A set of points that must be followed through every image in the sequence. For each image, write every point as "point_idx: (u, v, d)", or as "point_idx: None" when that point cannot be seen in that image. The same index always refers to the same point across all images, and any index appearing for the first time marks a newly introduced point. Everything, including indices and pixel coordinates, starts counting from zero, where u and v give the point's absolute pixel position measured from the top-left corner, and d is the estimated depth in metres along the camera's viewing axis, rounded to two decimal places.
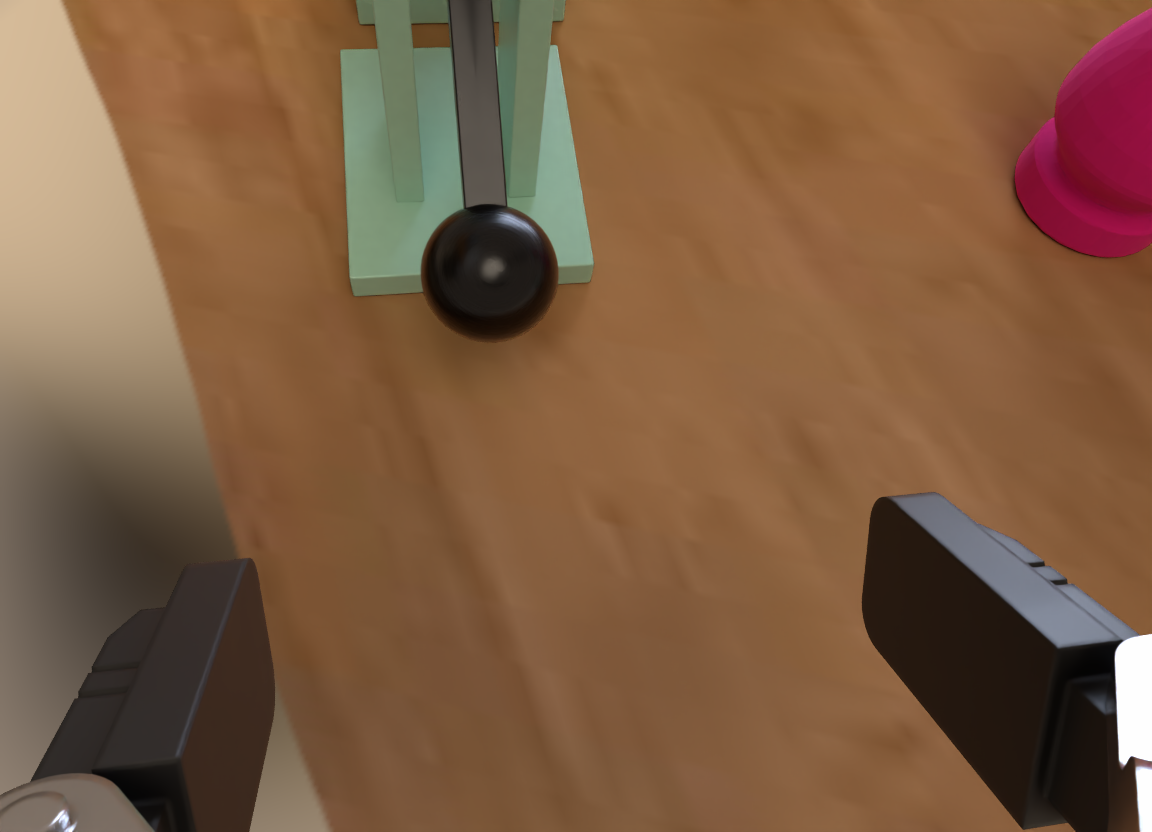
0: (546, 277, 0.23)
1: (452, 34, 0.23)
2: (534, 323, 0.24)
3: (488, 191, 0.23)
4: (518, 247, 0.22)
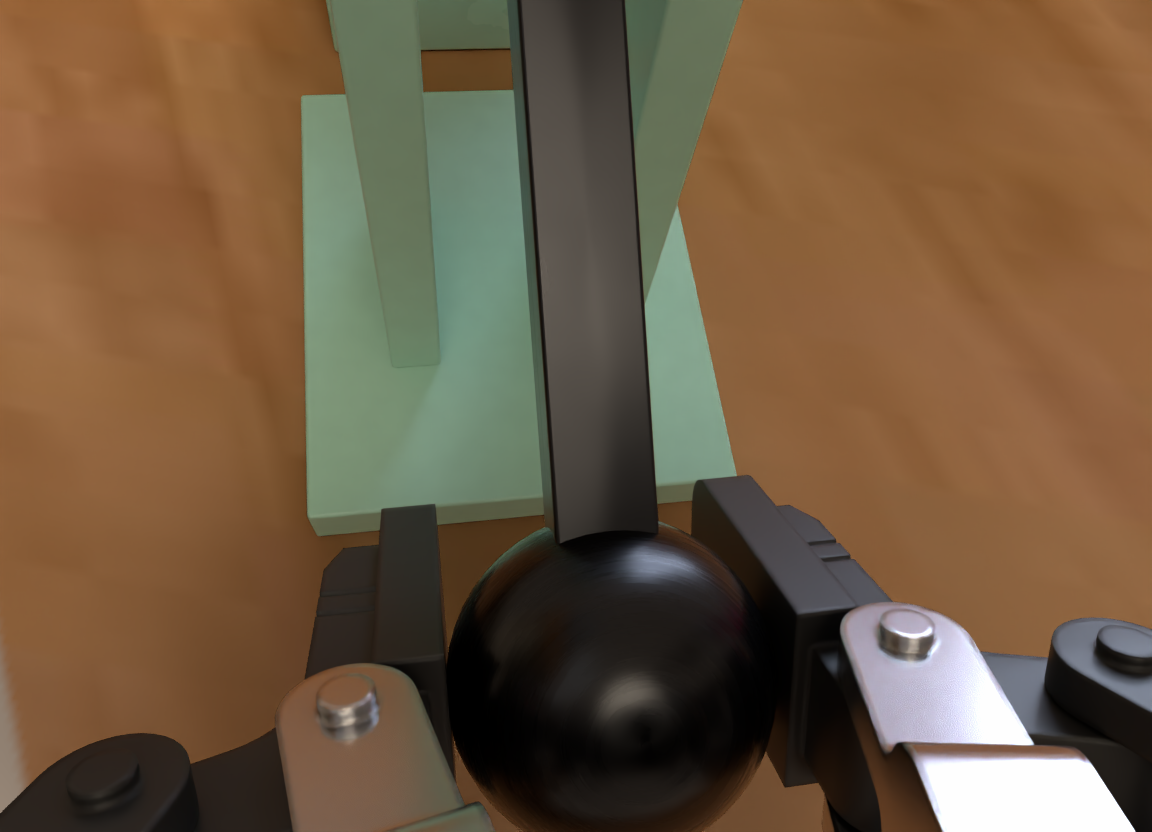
0: (764, 729, 0.09)
1: (529, 117, 0.09)
2: None
3: (614, 500, 0.09)
4: (706, 680, 0.09)
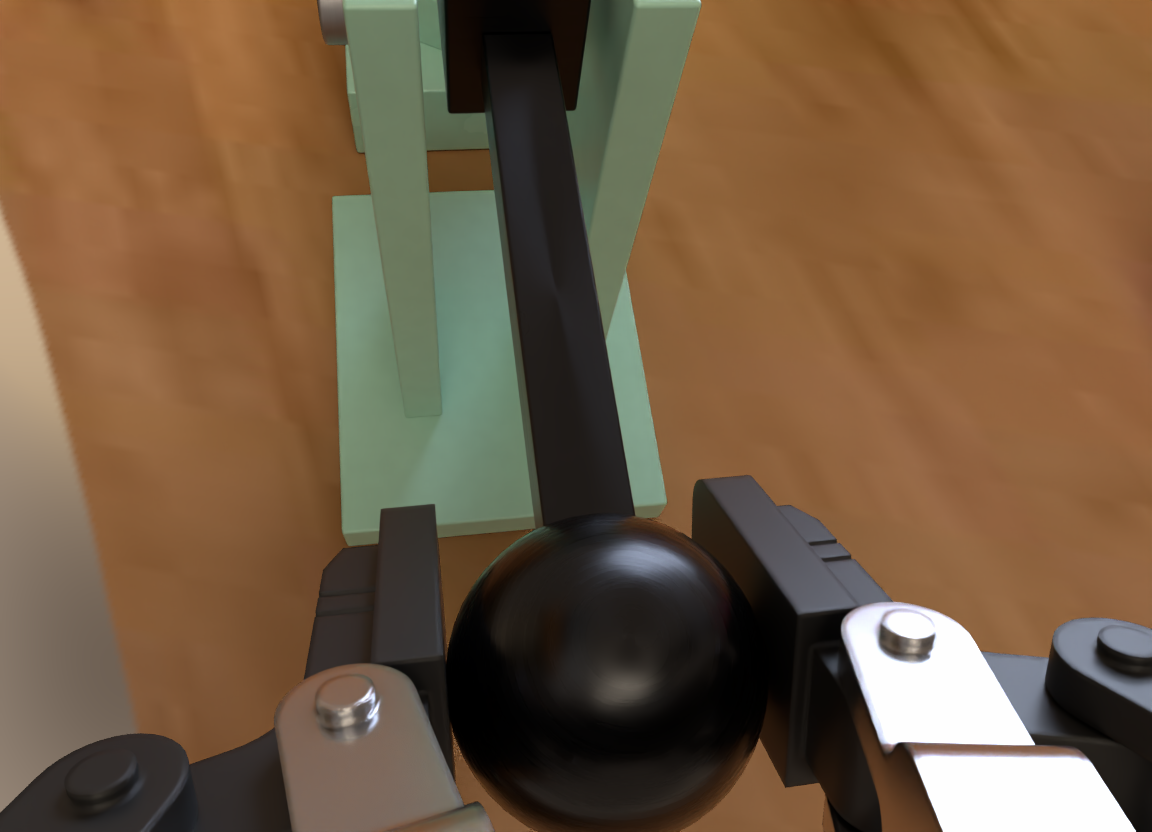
0: (751, 663, 0.09)
1: (508, 223, 0.12)
2: (729, 787, 0.09)
3: (593, 489, 0.11)
4: (682, 588, 0.09)
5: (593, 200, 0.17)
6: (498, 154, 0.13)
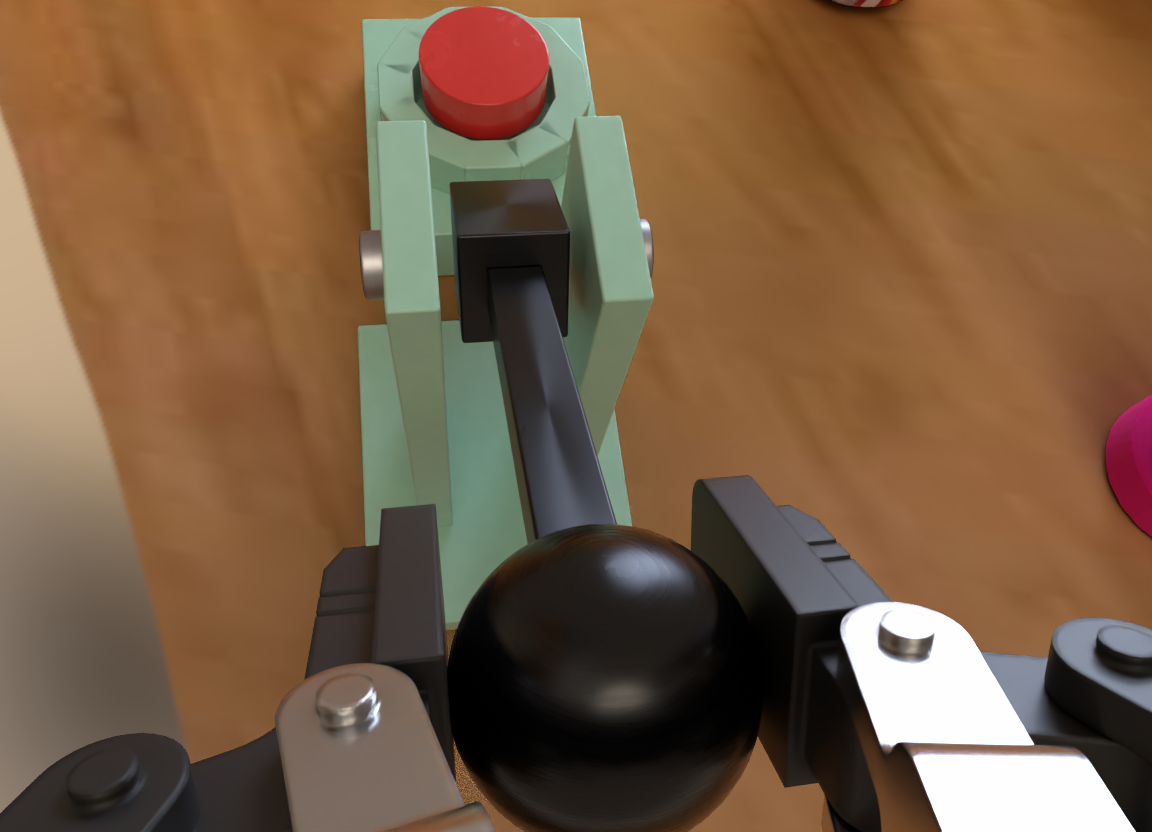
0: (735, 618, 0.10)
1: (507, 367, 0.15)
2: (730, 748, 0.09)
3: None
4: (660, 546, 0.10)
5: None
6: (499, 330, 0.16)
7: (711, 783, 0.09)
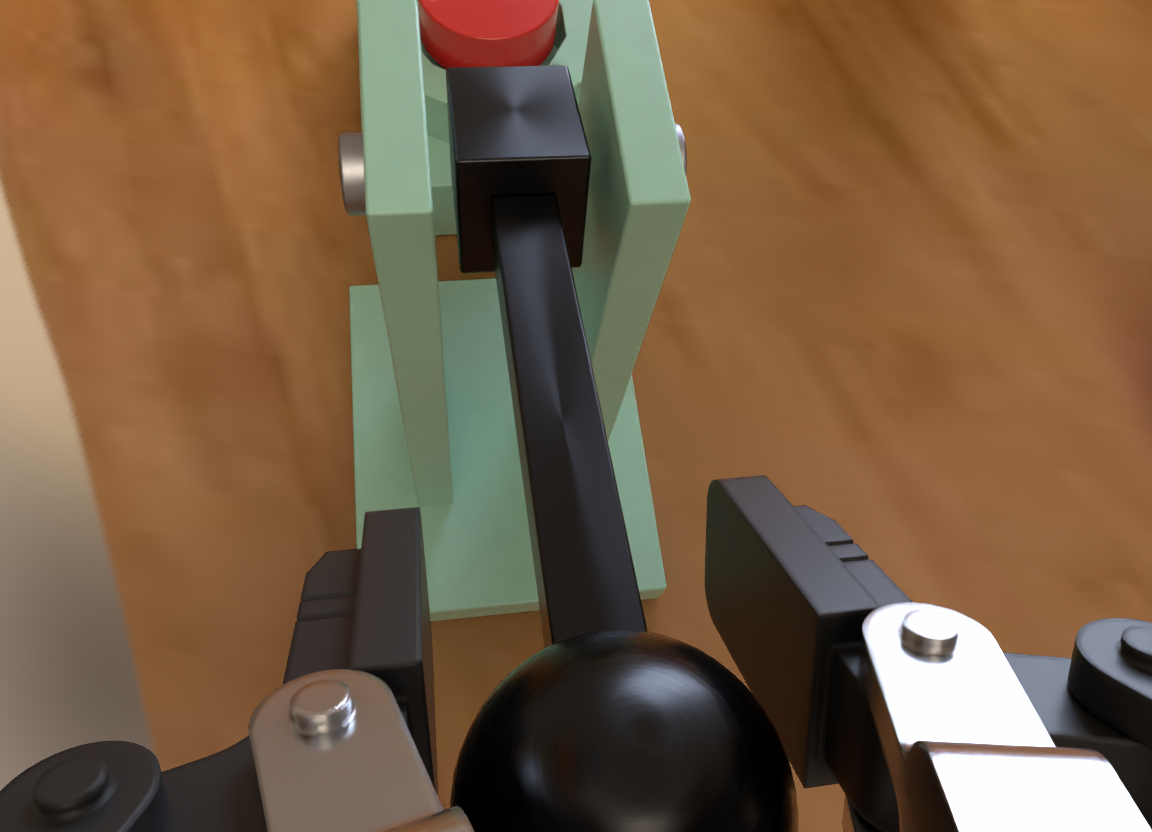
0: (776, 780, 0.09)
1: (515, 358, 0.13)
2: None
3: (603, 607, 0.10)
4: (696, 696, 0.09)
5: (594, 340, 0.18)
6: (506, 297, 0.14)
7: None
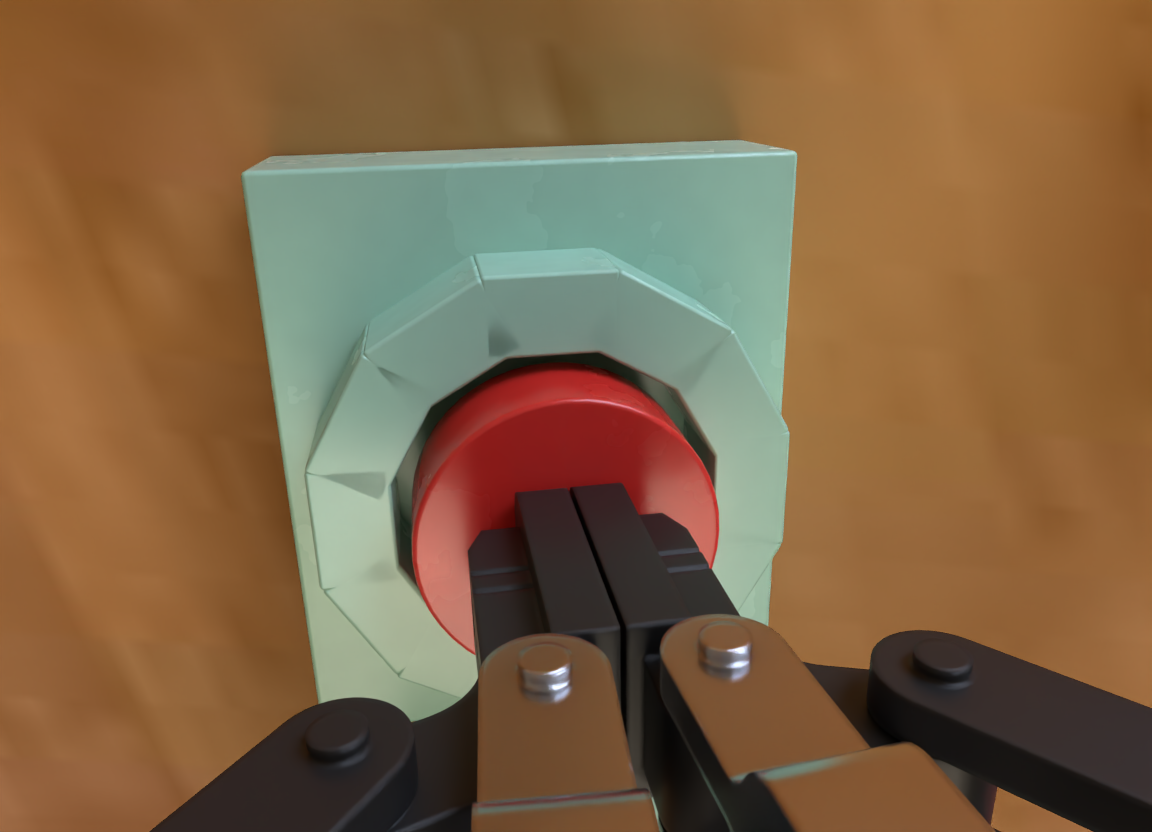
0: None
1: None
2: None
3: None
4: None
5: None
6: None
7: None
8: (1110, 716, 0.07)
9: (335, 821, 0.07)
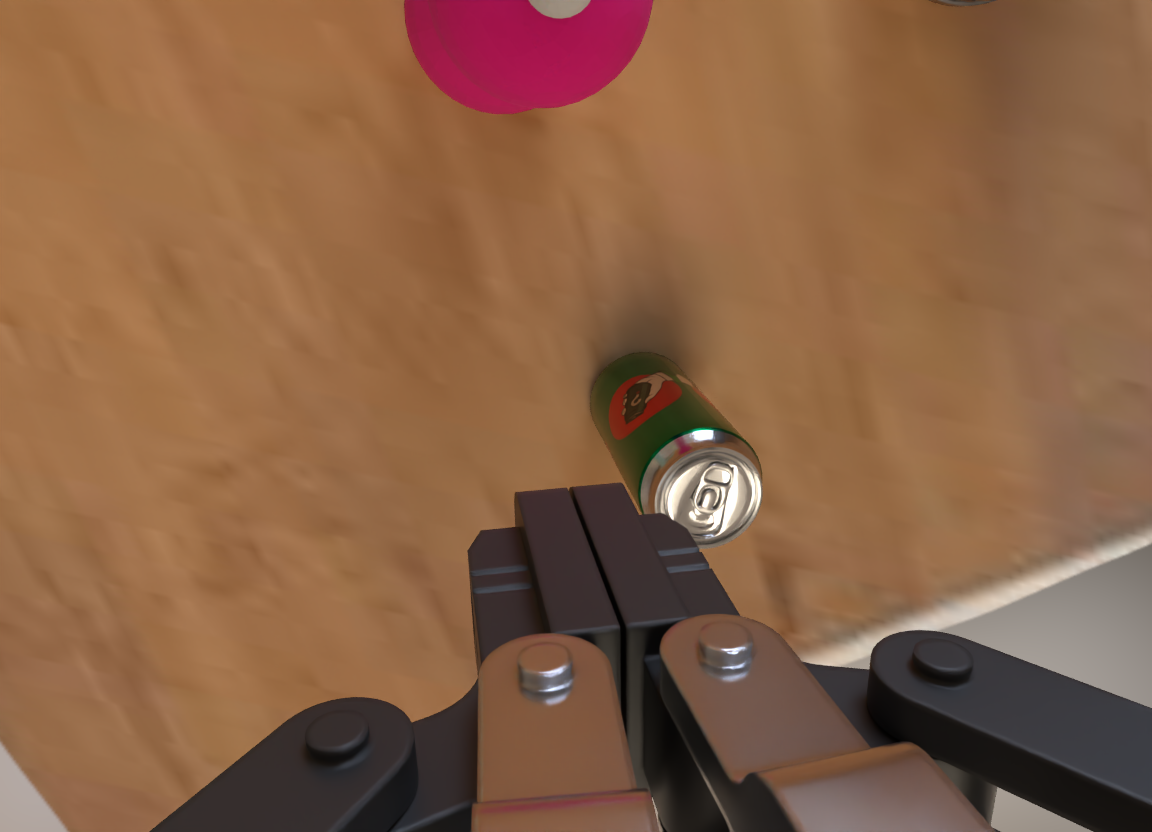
0: None
1: None
2: None
3: None
4: None
5: None
6: None
7: None
8: (1112, 717, 0.07)
9: (335, 822, 0.07)
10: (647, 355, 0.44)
